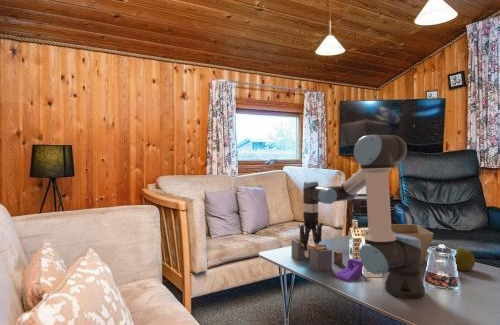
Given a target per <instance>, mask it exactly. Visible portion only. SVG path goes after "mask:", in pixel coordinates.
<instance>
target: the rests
mask: <svg viewBox="0 0 500 325" xmlns="http://www.w3.org/2000/svg"><path fill="white" fill-rule="evenodd" d="M318 245H319V246H322V247H323V246H324V247H327V245H326V244H325V243H319V244H318ZM343 255H344V254H343V252H342V251H340V250H335V251H334V252H333V263H334V264H335V265H337V266H340V265H343V259H344V258H343Z"/></svg>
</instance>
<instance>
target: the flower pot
mask: <svg viewBox="0 0 500 325" xmlns="http://www.w3.org/2000/svg"><path fill="white" fill-rule="evenodd" d="M391 230H392V234H402V235H408V236H412V237H415V238H418V239H419V240H420V241H421V248H422V249H421V265H423V264H425V263H424V262H425V261H426V258H427V257H428V254H429V252H427V249H428V248H429V247H430V248H431V246H432V242H433V238H434V232H432V231H429V230H428V229H426V228H424V227H422V226H421V225H418V224H410V223H409V224H405V223H403V224H402V223H401V224H396V223H395V224H394V223H393V224H392V223H391Z"/></svg>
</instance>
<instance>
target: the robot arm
mask: <svg viewBox="0 0 500 325" xmlns="http://www.w3.org/2000/svg"><path fill="white" fill-rule="evenodd" d="M353 148H354V149H353V156H354V157H353V158H354V159H355V161H356V162H357V164H359V165H360V168H359V169H358V170H357V171H356V172H355V173H354V174H353V175H351V176H350V177H349V178H348V179H347V180H345V181H344V182H343V183H342V184H340V185H336V186H333V185H332V186H319V181H316V180H306V181H304V182H303V189H302V191H303V193H302V194H303V195H302V196H303V216H302V217H303V222H302V223H299V224H298V228H299V238H300V243H302V244H304V251H305V257H307V258H309V245H308V239H309V237H310V232H311V233H312V239H313V241H312V242H313V243H315V244H317V245H318V244H320V242H322V231H323V229H322V228H323V225H324V224H323V222H321V221H319V203H322V204H328V205H331V204H333V203H335V202H343V201H345V202H346V201H352V200H354V199H355V198H356V196H357V194H358V192H359V191H362V189H363V188H365V192H366V211H367V230H368V234H366V235H365V236H364V244H362V246H361V247H360V249H359V252H358V253H359V254H358V255H359V260H361V262H362V264H363V268H365V270H366V271H368V272H369V273H371V274H374V275H383V274H387V273H388V274H387V276H386V280H385V281H384V290H385V291H386V292H387V293H389V294H390V295H393V296H394V297H398V298H402V299H408V300H418V299H422V298H423V297H425V295H426V288H425V286H424V283H423V279H422V275H421V265H422V264H421V249H422V248H421V241H420V240H419V239H418V238H415V237H412V236H408V235H402V234H392V230H391V224H392V216H391V214H392V213H391V212H392V211H391V197H390V182H389V181H390V180H389V174H390V171H392V169H394V168H395V167H397V166H398V165H399V164H401V162H402V161H403V160H405V158H406V156H407V152H408V148H407V143H406V142H405V140H404V139H402V138H401V137H400V136H398V135H394V134H368V135H363V136H362V137H360V138H359V139H358V141H356V143H355V144H354V147H353ZM309 240H310V239H309Z"/></svg>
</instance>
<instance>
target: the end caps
mask: <svg viewBox="0 0 500 325" xmlns="http://www.w3.org/2000/svg"><path fill="white" fill-rule="evenodd" d="M298 239H300V237H298V238H293V239H291V257H292V258H293V259H295V260H296V261H302V260H303V261H304V260H308V259H309V268H310V269H312V270H314V271H315V272H318V273H319V272H323V271H330V270H333V249H331V248H329V247H327V246H326V247H324V246H323V247H324V250H323V251H317V250H315V249H313V248H310V250H309V258H307V257H305V251H304V247H303V246H301V245H300V242H298ZM308 241H311V242H313V241H312V240H311V239H308Z"/></svg>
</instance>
